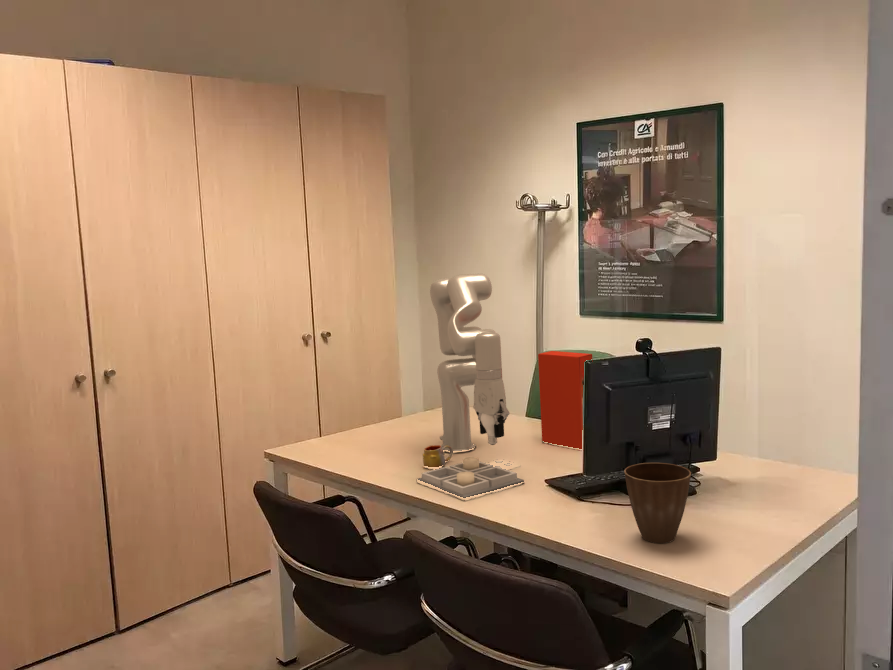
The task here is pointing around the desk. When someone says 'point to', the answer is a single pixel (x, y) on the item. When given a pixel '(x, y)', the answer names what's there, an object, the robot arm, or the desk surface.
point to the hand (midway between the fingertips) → (492, 434)
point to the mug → (435, 455)
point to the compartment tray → (470, 478)
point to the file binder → (562, 397)
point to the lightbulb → (489, 427)
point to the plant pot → (657, 498)
